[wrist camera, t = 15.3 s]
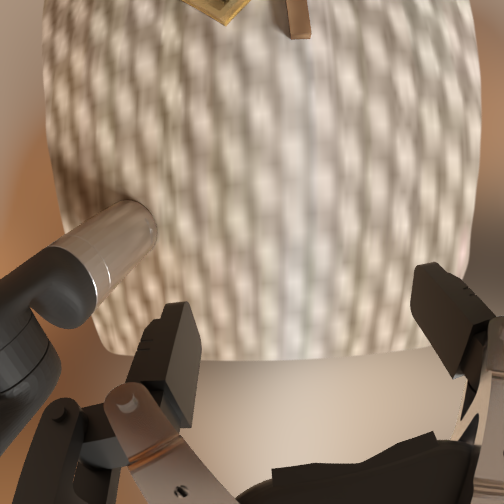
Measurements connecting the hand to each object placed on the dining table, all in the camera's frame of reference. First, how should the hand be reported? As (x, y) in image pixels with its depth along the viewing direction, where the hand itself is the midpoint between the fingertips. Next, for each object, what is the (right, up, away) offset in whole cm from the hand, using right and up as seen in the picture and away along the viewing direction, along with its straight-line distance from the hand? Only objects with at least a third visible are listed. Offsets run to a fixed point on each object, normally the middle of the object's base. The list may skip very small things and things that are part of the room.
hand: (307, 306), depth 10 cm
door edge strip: (+3, +35, +18) cm, 40 cm away
